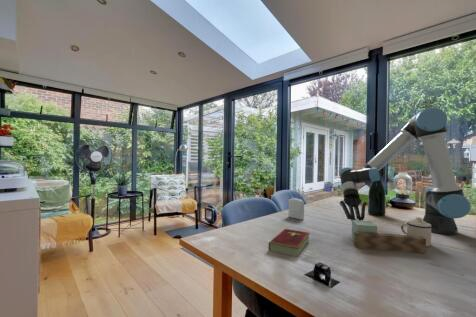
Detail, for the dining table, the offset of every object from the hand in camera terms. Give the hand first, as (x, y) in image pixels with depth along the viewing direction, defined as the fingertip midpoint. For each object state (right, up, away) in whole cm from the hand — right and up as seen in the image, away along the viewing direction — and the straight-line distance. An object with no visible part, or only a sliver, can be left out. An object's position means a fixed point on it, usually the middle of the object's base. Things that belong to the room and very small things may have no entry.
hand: (358, 232), depth 109 cm
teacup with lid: (+24, -4, -3) cm, 25 cm away
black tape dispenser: (-31, -3, -37) cm, 48 cm away
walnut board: (+6, -3, -12) cm, 14 cm away
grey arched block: (-21, -3, +36) cm, 41 cm away
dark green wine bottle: (+38, -4, +49) cm, 62 cm away
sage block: (-1, -3, -5) cm, 6 cm away
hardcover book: (-35, -3, -10) cm, 36 cm away
